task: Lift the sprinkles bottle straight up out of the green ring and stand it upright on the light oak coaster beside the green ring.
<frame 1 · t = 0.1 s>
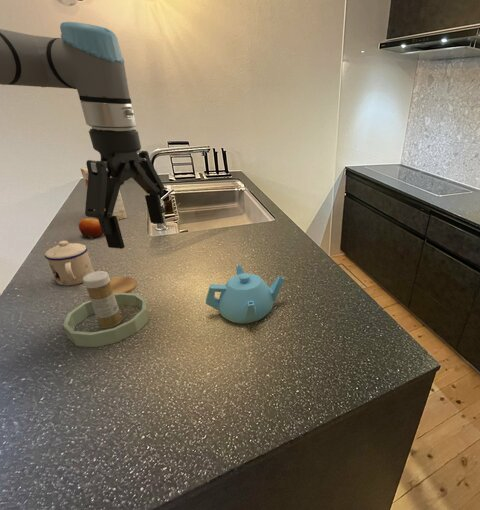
hand: (139, 234, 66), 23 cm above the worktop, tool pointing down, fingers open, 13 cm apart
teacup with lid: (76, 280, 88), on the worktop
coaster: (115, 288, 86), on the worktop
fruit: (95, 236, 114), on the worktop
coffeecake box: (110, 216, 132), on the worktop
green ring: (111, 323, 73), on the worktop
sprinkles bottle: (111, 324, 73), resting in green ring
teapot: (248, 310, 82), on the worktop
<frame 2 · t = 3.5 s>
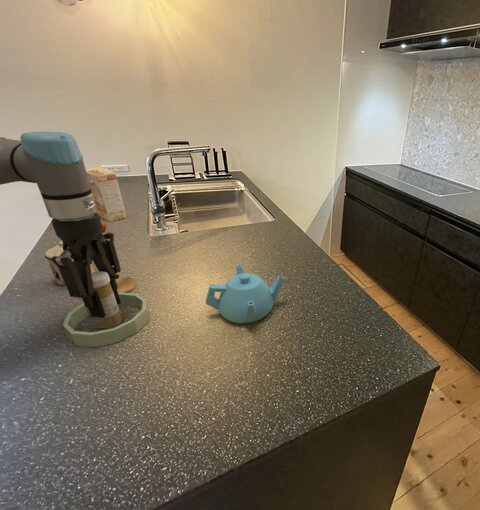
hand: (106, 309, 72), 4 cm above the worktop, tool pointing down, fingers closed on sprinkles bottle, 4 cm apart
sprinkles bottle: (111, 323, 73), resting in green ring, touching gripper
everything else where it was.
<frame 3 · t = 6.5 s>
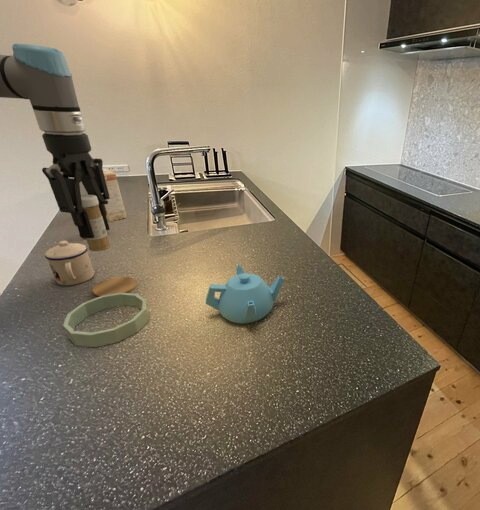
hand: (95, 233, 75), 18 cm above the worktop, tool pointing down, fingers closed on sprinkles bottle, 4 cm apart
sprinkles bottle: (100, 248, 77), point 14 cm above the worktop, touching gripper
everything else where it was.
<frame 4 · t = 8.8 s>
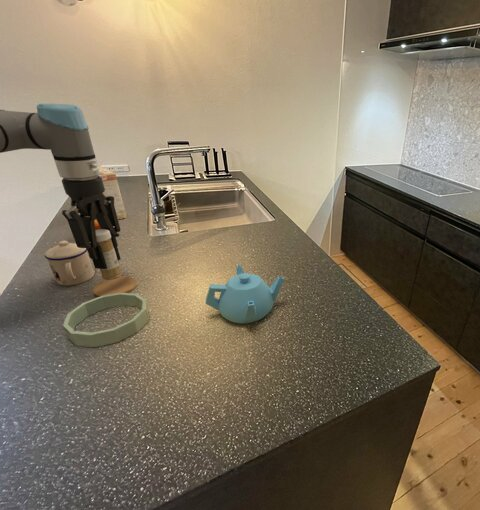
hand: (108, 263, 82), 8 cm above the worktop, tool pointing down, fingers closed on sprinkles bottle, 4 cm apart
sprinkles bottle: (112, 277, 84), point 4 cm above the worktop, touching gripper
everything else where it was.
when the fingers open (5 cm above the worktop, at t = 9.9 s): sprinkles bottle stays where it is, resting on coaster.
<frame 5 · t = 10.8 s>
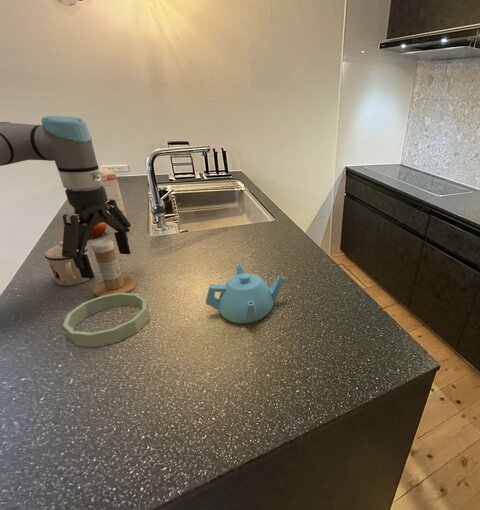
hand: (108, 264, 83), 8 cm above the worktop, tool pointing down, fingers open, 13 cm apart
sprinkles bottle: (115, 286, 86), point 1 cm above the worktop, touching coaster
everything else where it was.
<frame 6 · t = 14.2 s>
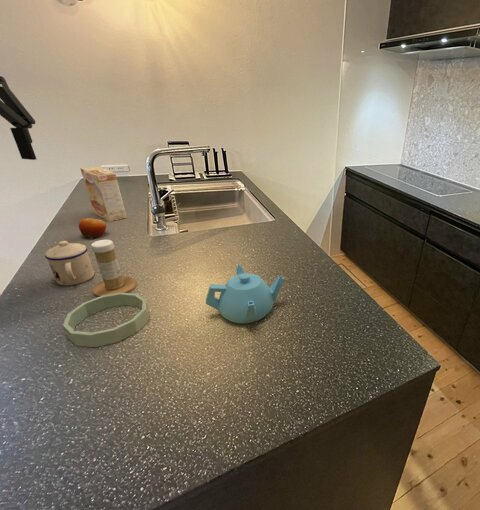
nothing on the worktop moved.
at the end: sprinkles bottle inside the target area (0.0 cm from its centre), point 0.6 cm above the worktop; sprinkles bottle tilted 0°; sprinkles bottle touching coaster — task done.
